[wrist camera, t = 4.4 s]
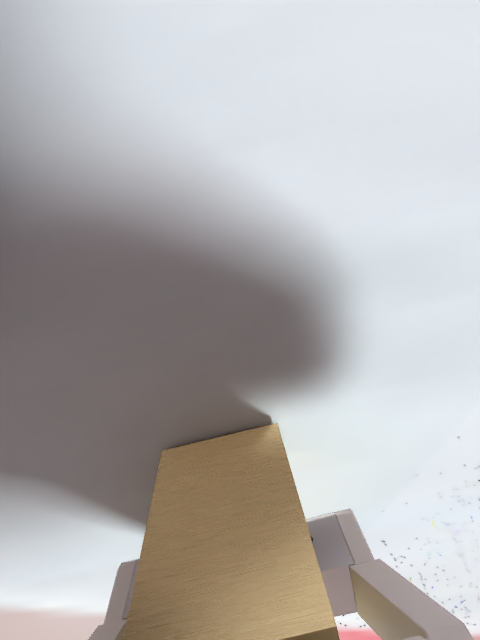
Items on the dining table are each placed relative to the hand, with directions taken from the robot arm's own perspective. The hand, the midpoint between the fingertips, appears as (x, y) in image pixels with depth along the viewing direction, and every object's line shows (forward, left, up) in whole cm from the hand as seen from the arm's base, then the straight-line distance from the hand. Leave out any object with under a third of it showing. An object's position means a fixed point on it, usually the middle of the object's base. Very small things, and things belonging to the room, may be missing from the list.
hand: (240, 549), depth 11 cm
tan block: (0, 0, -2) cm, 2 cm away
